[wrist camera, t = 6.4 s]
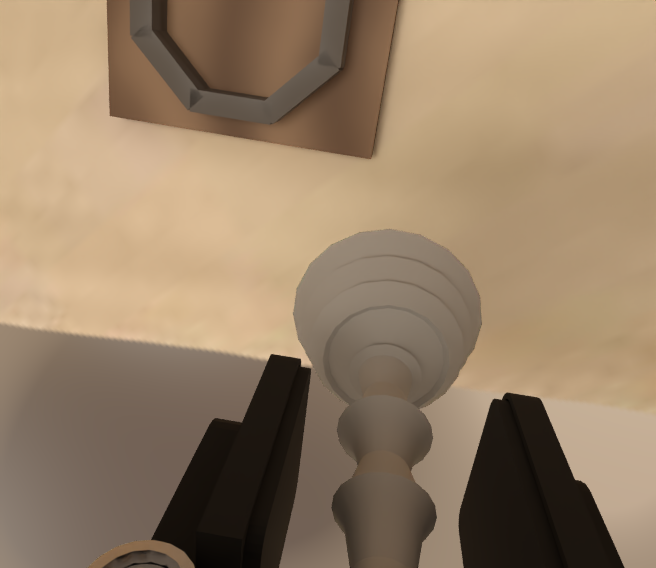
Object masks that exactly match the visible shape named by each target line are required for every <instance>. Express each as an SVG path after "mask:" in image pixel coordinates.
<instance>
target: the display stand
mask: <svg viewBox="0 0 656 568" xmlns="http://www.w3.org/2000/svg"><path fill="white" fill-rule="evenodd" d="M398 1H399V0H107V25H108V64H109V103H110V116H114V117H120V118H126V119H132V120H138V121H144V122H150V123H156V124H162V125H168V126H174V127H180V128H186V129H192V130H198V131H204V132H210V133H216V134H222V135H228V136H234V137H240V138H246V139H253V140H259V141H265V142H271V143H277V144H283V145H289V146H295V147H301V148H307V149H313V150H319V151H325V152H331V153H337V154H343V155H349V156H355V157H361V158H367V159H371V157H372V153H373V147H374V141H375V135H376V130H377V124H378V118H379V112H380V106H381V100H382V95H383V89H384V83H385V77H386V71H387V65H388V60H389V54H390V48H391V42H392V36H393V30H394V25H395V19H396V13H397V7H398Z"/></svg>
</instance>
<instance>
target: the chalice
mask: <svg viewBox="0 0 656 568" xmlns="http://www.w3.org/2000/svg"><path fill="white" fill-rule="evenodd" d="M293 315H294V320H295V325H296V330H297V335H298V340H299V341H300V343H301V345H302V346H303V348H304V350H305V352H306V354H307V356H308V358H309V360H310V361H311V363H312V365H313V368H314V370H315V371H316V373H317V375H318V377H319V379H320V380H321V382H322V384H323V385H324V386H325V387H326V388H327V389H328V390H329V391H330V392H331V393H332V394H333V395H334V396H335V397H337V398H338V399H339V400H340V401H342V402H344V403H346V404H348V405H349V406H348V407H347V408H346V409H345V410H344V412H343V413H342V415H341V417H340V418H339V422H338V428H337V432H338V437H339V441H340V444H341V445H342V447H343V449H344V450H345V451H346V453H347V454H348V455H349V456H350V457H351V458H353V459H354V460H355V461H356V462H357V465H358V466H357V469H356V470H355V473H354V474H353V476H352V478H351V479H349V480H348V481H346V482H345V483H343V484H342V485H341V486H340V487H339V489H338V490H337V491H336V493H335V495H334V497H333V502H332V511H333V515H334V519H335V521H336V523H337V524H338V525H339V527H340V528H341V530H342V531H343V532H344V534H345V536H346V544H347V551H348V558H349V565H350V568H418V564H419V558H420V552H421V547H422V542H423V541H424V540H425V539H426V538H427V536H428V535H429V534H430V533H431V532H432V530H433V529H434V526H435V522H436V518H437V516H436V510H435V505H434V503H433V502H432V500H431V498H430V496H429V494H428V493H427V492H426V491H425V490H423V489H422V488H421V487H420V486H419V485H418V484H417V483H416V482H415V480H414V478H413V476H412V473H411V469H412V467H413V466H414V465H415V464H417V463H418V462H420V461H421V460H423V458H424V457H425V456H426V454H427V453H428V452H429V450H430V448H431V444H432V439H433V436H432V429H431V425H430V423H429V422H428V420H427V418H426V416H425V415H424V414H423V413H422V412H421V411H420V410H419V409H420V408H423V407H426V406H428V405H430V404H431V403H432V402H434V401H435V400H436V399H438V398H439V397H441V396H442V395H444V394H445V393H446V392H447V390H448V389H449V388H450V386H451V385H452V384H453V382H454V381H455V380H456V378H457V377H458V374H459V371H460V370H461V369H462V367H463V366H464V365H465V363H466V360H467V358H468V356H469V355H470V354H471V352H472V351H473V350H474V347H475V344H476V341H477V337H478V334H479V331H480V328H481V325H482V321H481V303H480V295H479V293H478V291H477V289H476V286H475V284H474V282H473V280H472V277H471V275H470V273H469V271H468V270H467V269H466V268H465V267H464V266H463V264H462V263H461V262H460V261H459V260H458V259H457V258H456V257H455V256H454V255H453V254H452V253H451V252H450V251H449V250H448V249H446V248H445V247H443V246H441V245H439V244H437V243H435V242H433V241H431V240H430V239H428V238H426V237H424V236H422V235H419V234H414V233H408V232H403V231H398V230H392V229H386V230H377V231H368V232H359V233H357V234H354V235H352V236H350V237H348V238H345V239H343V240H341V241H339V242H336V243H334V244H332V245H330V246H329V247H328V248H327V249H326V250H325V251H324V252H323V253H322V254H320V255H319V256H318V257H317V258H316V259H315V260H314V261H313V262H312V263H311V264H310V265H309V267H308V269H307V270H306V272H305V274H304V276H303V278H302V280H301V282H300V283H299V285H298V287H297V291H296V298H295V305H294V312H293Z"/></svg>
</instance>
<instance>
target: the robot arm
mask: <svg viewBox="0 0 656 568" xmlns="http://www.w3.org/2000/svg"><path fill="white" fill-rule="evenodd" d="M310 375H311V369H310V368H305V367H301V359H299V358H292V357H286V356H280V355H274V354H272V355H271V356H270V358H269V360H268V362H267V365H266V367H265V370H264V372H263V375H262V377H261V379H260V381H259V384H258V386H257V389H256V391H255V393H254V396H253V398H252V401H251V403H250V405H249V408H248V410H247V412H246V415H245V417H244V419H243V422H242V423H240V422H235V421H229V420H224V419H218V418H215V419H214V420H212V422H211V424H210V425H209V427H208V429H207V431H206V433H205V435H204V437H203V439H202V441H201V443H200V445H199V447H198V448H197V450H196V452H195V454H194V456H193V458H192V460H191V462H190V464H189V466H188V468H187V470H186V472H185V474H184V476H183V478H182V480H181V482H180V484H179V486H178V488H177V490H176V492H175V494H174V496H173V498H172V500H171V502H170V504H169V506H168V508H167V510H166V511H165V513H164V515H163V517H162V519H161V521H160V523H159V525H158V527H157V529H156V531H155V533H154V535H153V537H152V539H151V540H146V541H145V540H144V541H134V542H131V543H127V544H124V545H120V546H117V547H115V548H114V549H112V550H110V551H108V552H107V553H105V554H103V555H101V556H100V557H99V558H97V559H96V560H95V561H94V562H93V563H92V564H91V565H90V566H89V567H88V568H279V564H280V560H281V556H282V551H283V547H284V542H285V538H286V534H287V530H288V525H289V521H290V516H291V512H292V508H293V504H294V499H295V494H296V488H297V482H298V473H299V466H300V458H301V450H302V441H303V432H304V425H305V417H306V408H307V400H308V392H309V384H310ZM459 535H460V543H461V550H462V558H463V566H464V568H624V566H623V563H622V561H621V559H620V557H619V555H618V552H617V550H616V548H615V545H614V543H613V541H612V539H611V536H610V534H609V532H608V530H607V527H606V525H605V523H604V521H603V518H602V516H601V514H600V512H599V510H598V508H597V505H596V503H595V501H594V498H593V496H592V494H591V492H590V490H589V488H588V487H587V485H586V484H585V483H583V482H581V481H578V480H575V479H574V477H573V474H572V472H571V469H570V467H569V465H568V463H567V460H566V458H565V455H564V453H563V450H562V448H561V446H560V443H559V441H558V439H557V436H556V434H555V431H554V429H553V427H552V424H551V422H550V420H549V417H548V415H547V413H546V410H545V408H544V405H543V403H542V401H541V400H540V398H537V397H531V396H525V395H519V394H513V393H506V394H505V395H504V396H503V399H502V400H499V399H493V401H492V403H491V405H490V408H489V412H488V415H487V419H486V422H485V426H484V429H483V433H482V436H481V440H480V443H479V446H478V450H477V454H476V457H475V460H474V464H473V467H472V470H471V474H470V477H469V481H468V484H467V488H466V491H465V494H464V498H463V502H462V505H461V508H460V514H459Z"/></svg>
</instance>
